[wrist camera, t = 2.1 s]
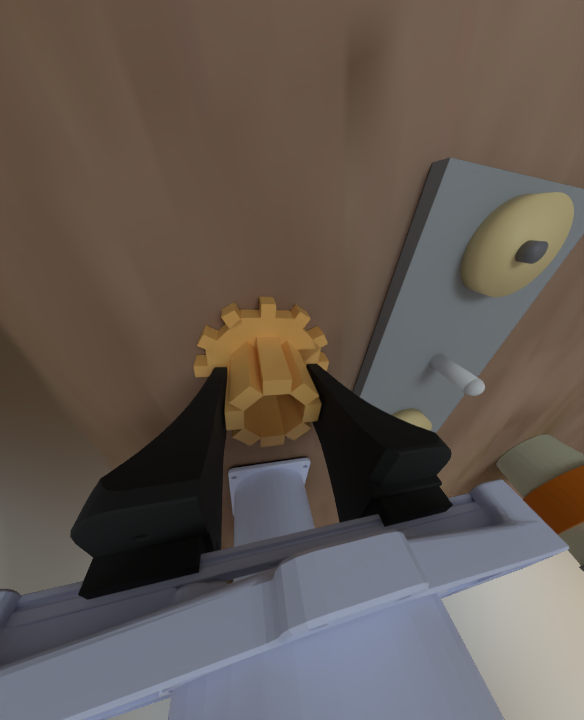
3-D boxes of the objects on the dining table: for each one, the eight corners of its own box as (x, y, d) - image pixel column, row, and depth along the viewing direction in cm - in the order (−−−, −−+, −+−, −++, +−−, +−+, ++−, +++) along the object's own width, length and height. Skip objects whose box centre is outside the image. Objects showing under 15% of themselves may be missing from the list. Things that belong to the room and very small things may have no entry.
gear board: (425, 431, 24) (459, 471, 20) (335, 443, 21) (355, 491, 18) (587, 196, 12) (737, 189, 9) (432, 162, 10) (551, 130, 6)
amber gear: (312, 398, 17) (336, 455, 13) (205, 407, 15) (194, 476, 11) (334, 299, 13) (379, 339, 9) (186, 294, 11) (155, 341, 7)
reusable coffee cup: (509, 473, 40) (628, 585, 28) (471, 473, 35) (593, 608, 23) (575, 430, 34) (760, 547, 22) (539, 422, 29) (750, 567, 17)
